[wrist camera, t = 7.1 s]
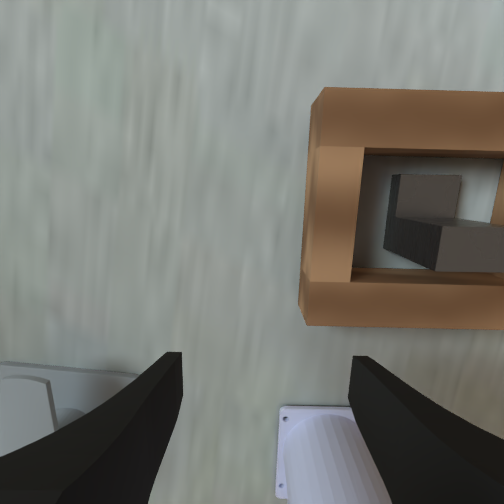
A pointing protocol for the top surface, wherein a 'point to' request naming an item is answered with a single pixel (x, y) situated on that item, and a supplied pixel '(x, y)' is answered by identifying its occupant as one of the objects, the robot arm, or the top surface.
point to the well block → (347, 199)
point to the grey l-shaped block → (439, 227)
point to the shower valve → (49, 399)
